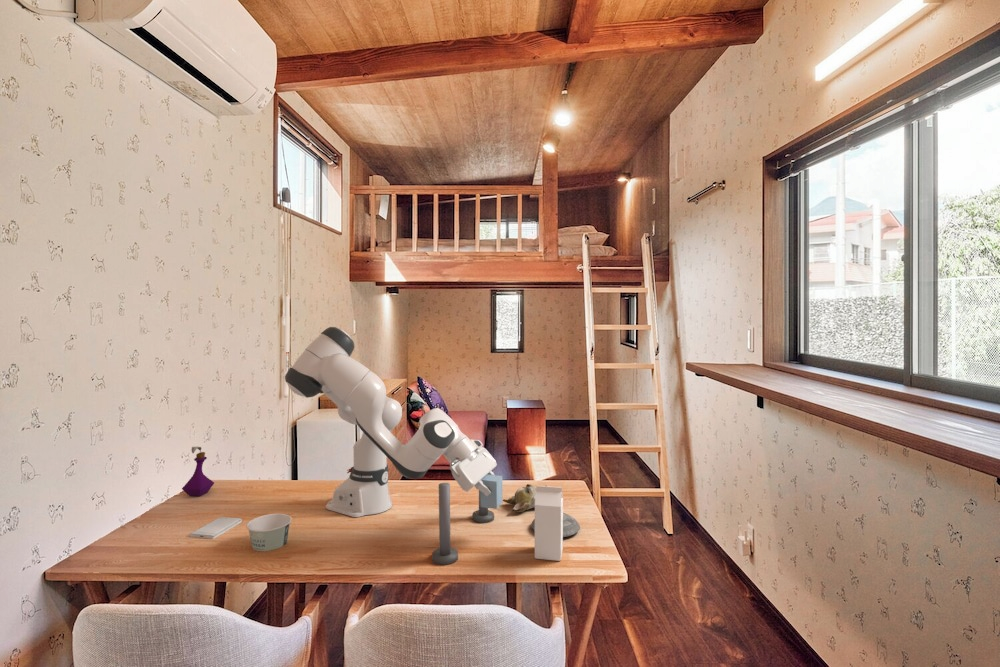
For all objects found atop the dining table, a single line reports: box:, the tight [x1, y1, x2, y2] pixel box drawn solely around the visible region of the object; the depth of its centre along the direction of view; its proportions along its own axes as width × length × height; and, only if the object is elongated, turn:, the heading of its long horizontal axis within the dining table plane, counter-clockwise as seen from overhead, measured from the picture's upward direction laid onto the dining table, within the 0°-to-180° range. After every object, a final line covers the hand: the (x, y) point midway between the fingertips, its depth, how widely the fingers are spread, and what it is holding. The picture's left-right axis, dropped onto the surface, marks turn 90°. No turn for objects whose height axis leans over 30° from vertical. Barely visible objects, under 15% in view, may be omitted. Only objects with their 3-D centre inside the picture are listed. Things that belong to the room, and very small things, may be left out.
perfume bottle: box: [181, 446, 215, 497], centre depth 185 cm, size 8×8×18 cm
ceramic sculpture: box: [503, 483, 536, 513], centre depth 172 cm, size 11×9×15 cm
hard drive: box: [189, 516, 243, 540], centre depth 156 cm, size 2×8×12 cm
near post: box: [431, 482, 459, 566], centre depth 137 cm, size 7×7×20 cm
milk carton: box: [534, 485, 564, 562], centre depth 139 cm, size 7×7×19 cm
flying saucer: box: [530, 512, 581, 538], centre depth 155 cm, size 15×15×6 cm
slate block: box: [480, 474, 504, 510], centre depth 147 cm, size 5×5×8 cm
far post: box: [471, 490, 495, 524], centre depth 163 cm, size 7×7×20 cm
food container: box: [245, 513, 293, 552], centre depth 146 cm, size 12×12×6 cm
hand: (493, 490), depth 147 cm, fingers closed on slate block, 5 cm apart
